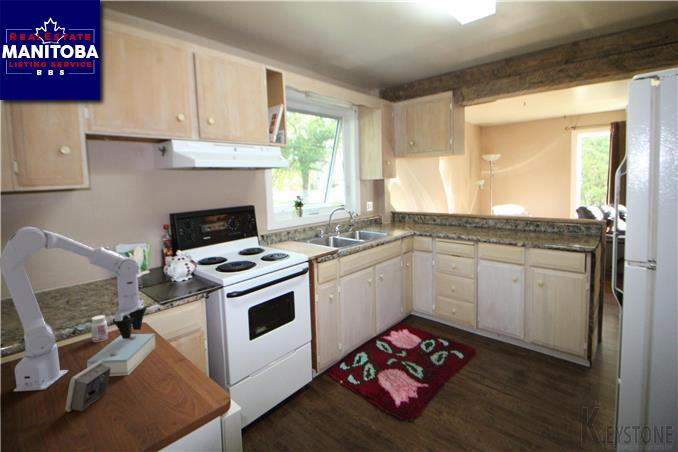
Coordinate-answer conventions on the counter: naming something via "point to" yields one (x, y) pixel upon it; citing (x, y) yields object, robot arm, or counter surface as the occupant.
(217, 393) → the counter surface
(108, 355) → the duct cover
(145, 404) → the counter surface
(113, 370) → the base
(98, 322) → the pill bottle
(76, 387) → the electrical switch
